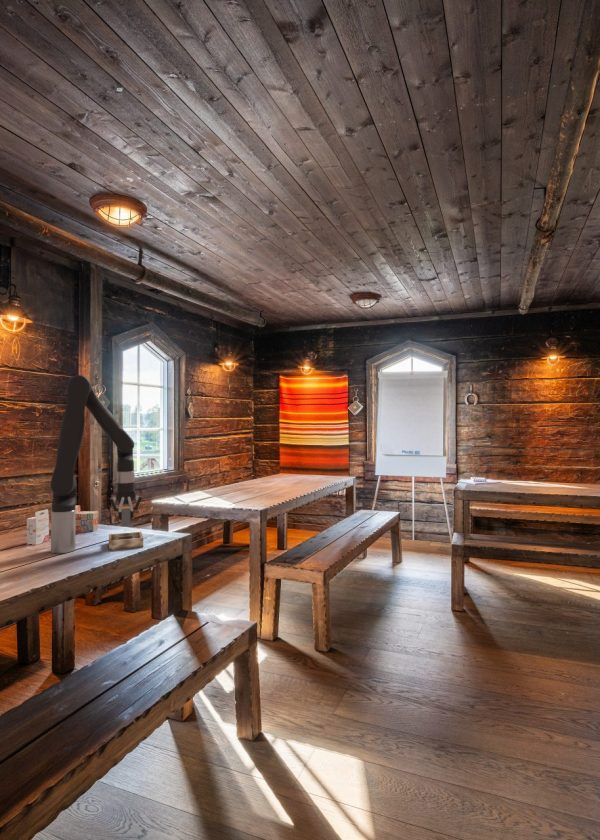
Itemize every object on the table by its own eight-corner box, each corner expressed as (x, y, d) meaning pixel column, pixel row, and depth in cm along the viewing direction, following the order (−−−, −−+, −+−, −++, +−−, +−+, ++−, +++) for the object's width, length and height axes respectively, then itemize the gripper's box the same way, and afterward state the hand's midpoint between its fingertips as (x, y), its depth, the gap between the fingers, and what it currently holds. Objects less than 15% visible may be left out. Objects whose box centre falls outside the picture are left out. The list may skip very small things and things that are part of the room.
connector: (121, 525, 214) (121, 505, 214) (121, 524, 217) (121, 504, 217) (130, 525, 215) (130, 504, 215) (130, 523, 219) (130, 503, 219)
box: (109, 550, 208) (109, 541, 208) (108, 543, 220) (108, 534, 220) (143, 547, 213) (143, 538, 213) (141, 540, 225) (141, 531, 225)
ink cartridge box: (39, 540, 226) (40, 508, 226) (49, 540, 225) (49, 508, 225) (26, 544, 218) (26, 511, 218) (35, 545, 217) (35, 512, 217)
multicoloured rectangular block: (98, 529, 249) (98, 505, 249) (93, 532, 243) (93, 507, 243) (57, 529, 249) (57, 505, 249) (50, 531, 243) (50, 507, 243)
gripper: (108, 483, 210) (108, 522, 210) (142, 481, 216) (143, 520, 216) (108, 481, 217) (108, 519, 217) (141, 479, 223) (142, 517, 223)
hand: (125, 519), depth 216 cm, fingers closed on connector, 3 cm apart
